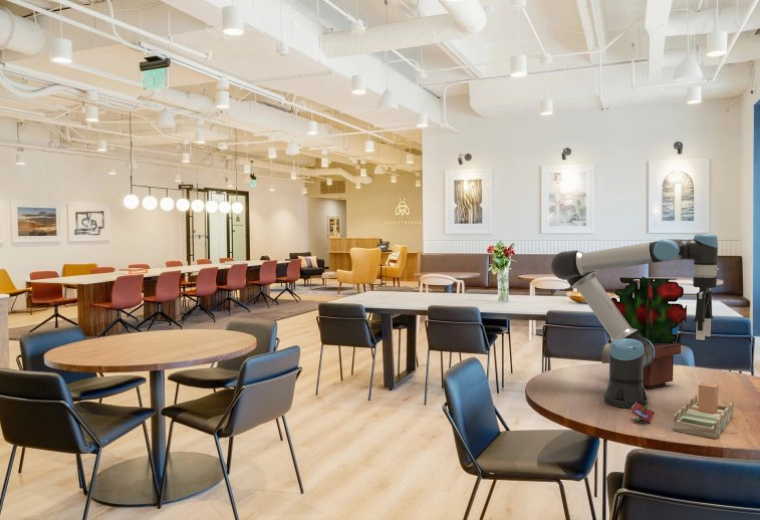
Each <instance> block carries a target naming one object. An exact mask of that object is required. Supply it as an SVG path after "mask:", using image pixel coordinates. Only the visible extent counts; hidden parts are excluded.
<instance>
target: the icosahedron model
mask: <svg viewBox="0 0 760 520" xmlns="http://www.w3.org/2000/svg"><path fill="white" fill-rule="evenodd" d="M640 403H641V402H640ZM648 406H649V407H650V408H649V407H648ZM651 408H652V406H651V404H650V403H649V402H648V404H646V405H643V406H642V405H640V404H638V403H637V402H636V403H635V404H634V405H633V406H632V409H630V410H631V411H630V413H631V414H632V415H634V416H635V417H634V419H635V422H636V423H639V424H640V423H642V422H643V421H644V422H646V423H647V424H651V422H652V421H653V420H652V419H653V417H654V416H655V411H652V410H653V408H652V409H651ZM637 418H638V420H637ZM641 421H642V422H641Z"/></svg>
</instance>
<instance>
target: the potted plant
mask: <svg viewBox="0 0 760 520" xmlns="http://www.w3.org/2000/svg"><path fill="white" fill-rule="evenodd" d="M635 280H639V284H638V282H637V281H635ZM671 280H673V281H671ZM676 280H677V278H674V277H673V278H671V277H669V278H667V277H666V278H665V277H662V278H661V277H645V276H643V275H642V276H641V277H619V281H620V283H622V284H627V285H625V287H624V288H618V289H615V291H614V294H615V295H616V296H617V297H619V301H618V298H616V297H610V298H611V300H612V301H613V303H614V304H615V305H616V307H617V308H618V310H619V311H620V312H621V314H622V315H623V317H624V318H625V319H626V321H627V322H628V324H629V325H630V326H631V328H634V329H637V330H638V331H639V332H640V334H641V335H642V336H643V338H646V339H647V340H649V341H650V342H651V343H652V345H653V346H654V349H655V356H654V359H653V361H652V362H651V364H650V365H649V366H647V367H645V368H643V386H644V389H645V390H646V389H647V390H650V389H654V388H659V387H663V386H664V387H665V386H666V383H670V382H673V381H674V356H675V355H680V354H682V345H681V343H677V342H676V343H675V341H677V339H678V336H677V335H676V334H674V333H673V329H676V328H677V327H678V325H680V324H682V323H683V322H685V323H687V318H688V317H687V316H688V315H687V314H688V313H687V311H688V307H687V306H688V305H687V304H686V305H685V307H684V305H683V304H681V303H675V302H677V301H678V300H679V299H680V298H682V297H683V296H684V292H685V291H684V287H682V286H680V285H679V283H678V282H677V281H676ZM638 287H639V288H638ZM633 293H634V297H633ZM611 342H612V340H610V341H609V345H610V344H611Z"/></svg>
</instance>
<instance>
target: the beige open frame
mask: <svg viewBox="0 0 760 520" xmlns="http://www.w3.org/2000/svg"><path fill="white" fill-rule="evenodd" d="M733 417H734V401H730V403H729V404H728V405H727V406H726V405H720V404H718V411H717V412H716V413H715V414H712V413H706V412H701V411H698V395H694V396H693V397H691V399H690V400H689V401H688V402H687V403H686V404H684V405H683V406H682V407H681V408H680V409H679V410H678V411H677V412H676V413H674V414H673V429H672V430H673V431H674V432H678V433H684V434H687V435H694V436H699V437H702V438H703V437H704V438H708V439H713V440H717V438H718V436H719V435H720V434H721V433H722V432H723V430H724V428H726V426H727V425H728V423H729V422H730V421H731V420H732V418H733Z"/></svg>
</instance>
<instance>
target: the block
mask: <svg viewBox="0 0 760 520" xmlns="http://www.w3.org/2000/svg"><path fill="white" fill-rule="evenodd" d="M697 401H698V411H701V412H706V413H712V414H715V413H716V412H717V411H718V405H719V384H717V383H711V382H709V383H708V382H704V381H702V382H700V383H699V384H698V394H697Z"/></svg>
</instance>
